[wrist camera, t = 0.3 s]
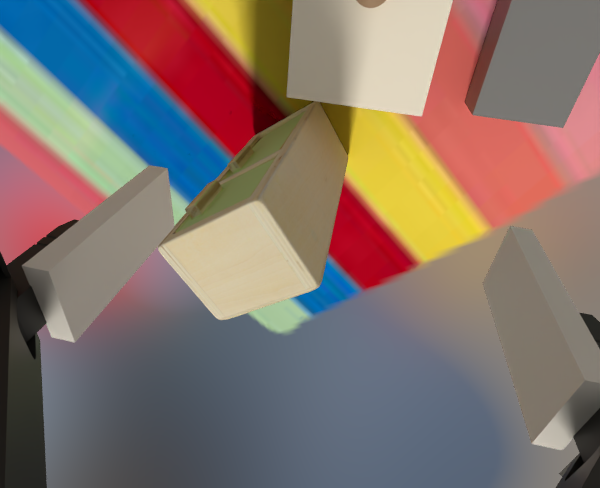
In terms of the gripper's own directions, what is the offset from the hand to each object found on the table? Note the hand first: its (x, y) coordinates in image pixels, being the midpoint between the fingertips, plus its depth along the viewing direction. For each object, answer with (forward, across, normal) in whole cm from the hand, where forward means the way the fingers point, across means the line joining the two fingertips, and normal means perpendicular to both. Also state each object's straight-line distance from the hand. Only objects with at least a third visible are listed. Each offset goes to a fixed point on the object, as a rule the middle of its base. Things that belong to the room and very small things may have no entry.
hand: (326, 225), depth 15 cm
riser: (+25, +13, +7) cm, 29 cm away
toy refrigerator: (+25, -5, -6) cm, 26 cm away
